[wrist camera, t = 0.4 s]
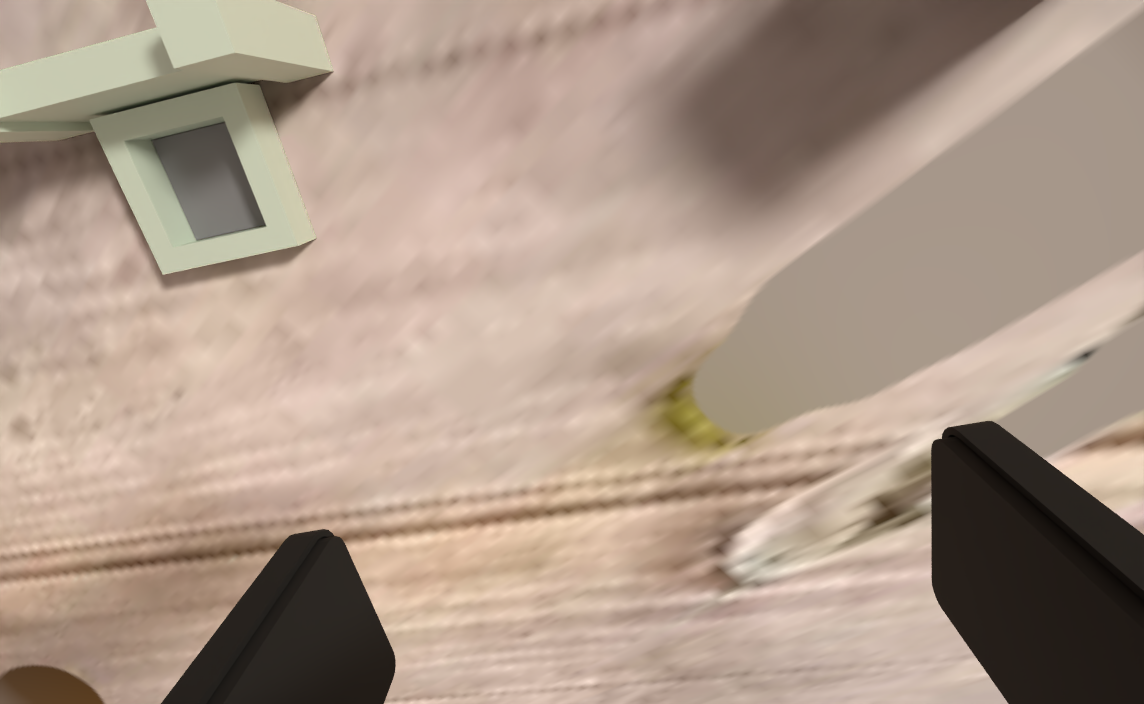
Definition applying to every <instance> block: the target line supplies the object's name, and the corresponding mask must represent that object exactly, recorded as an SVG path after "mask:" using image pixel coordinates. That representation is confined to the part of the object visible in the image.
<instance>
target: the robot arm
mask: <svg viewBox="0 0 1144 704" xmlns="http://www.w3.org/2000/svg"><path fill="white" fill-rule="evenodd" d="M931 480H932V586H933V590H934V593H935V596H936V598H937V601H938V603H939V605H940V606H941V608H942V610H943V611H944V612H945V614H946V615H947V617H948V618H949V619H950V621H951V622H952V624H953V625H954V627H955V628H956V629H957V631H958V632H959V634H960V635H961V637H962V638H963V639H964V641H965V642H966V644H967V645H968V647H969V648H970V649H971V651H972V652H973V654H974V655H975V656H976V658H977V659H978V661H979V662H980V664H981V665H982V666H983V668H984V669H985V671H986V672H987V674H988V675H989V676H990V678H991V679H992V681H993V682H994V684H995V685H996V686H997V688H998V689H999V691H1000V692H1001V694H1002V695H1003V696H1004V698H1005V699H1006V701H1007V702H1008V703H1009V704H1144V535H1143V534H1142V533H1141V532H1139V531H1138V530H1137V529H1136V528H1134V527H1133V526H1132V525H1130V524H1129V523H1128V522H1126V521H1125V520H1124V519H1122V518H1121V517H1120V516H1118V515H1117V514H1116V513H1114V512H1113V511H1112V510H1110V509H1109V508H1108V507H1106V506H1105V505H1104V504H1103V503H1101V502H1100V501H1099V500H1097V499H1096V498H1095V497H1093V496H1092V495H1091V494H1089V493H1088V492H1087V491H1085V490H1084V489H1083V488H1081V487H1080V486H1079V485H1077V484H1076V483H1075V482H1073V481H1072V480H1071V479H1070V478H1068V477H1067V476H1066V475H1064V474H1063V473H1062V472H1060V471H1059V470H1058V469H1056V468H1055V467H1054V466H1052V465H1051V464H1050V463H1048V462H1047V461H1046V460H1044V459H1043V458H1042V457H1040V456H1039V455H1038V454H1037V453H1035V452H1034V451H1033V450H1031V449H1030V448H1029V447H1027V446H1026V445H1025V444H1023V443H1022V442H1021V441H1019V440H1018V439H1017V438H1015V437H1014V436H1013V435H1011V434H1010V433H1009V432H1007V431H1006V430H1005V429H1003V428H1002V427H1001V426H1000V425H998V424H996V423H994V422H993V421H985V422H979V423H972V424H966V425H960V426H954V427H948V428H947V429H945V430H944V432H943V434H942V439H937V440H935V441H934V442H933V444H932V449H931ZM394 673H395V655H394V652H393V649H392V647H391V645H390V643H389V640H388V638H387V636H386V634H385V632H384V629H383V627H382V625H381V623H380V620H379V618H378V616H377V614H376V612H375V609H374V607H373V605H372V603H371V601H370V598H369V596H368V594H367V592H366V590H365V587H364V585H363V583H362V581H361V578H360V576H359V574H358V572H357V570H356V567H355V565H354V563H353V561H352V559H351V556H350V554H349V552H348V550H347V548H346V545H345V543H344V542H343V540H342V539H341V538H340V537H337V536H334V535H333V533H331V532H330V531H329V530H325V529H322V530H316V531H310V532H304V533H298V534H293V535H291V536H289V537H288V538H287V539H286V540H285V541H284V542H283V544H282V545H281V546H280V548H279V549H278V550H277V552H276V553H275V554H274V556H273V557H272V558H271V559H270V561H269V562H268V563H267V565H266V566H265V567H264V569H263V570H262V571H261V573H260V574H259V575H258V577H257V578H256V579H255V581H254V582H253V583H252V585H251V586H250V587H249V588H248V590H247V591H246V592H245V594H244V595H243V596H242V598H241V599H240V600H239V602H238V603H237V604H236V606H235V607H234V608H233V610H232V611H231V612H230V613H229V615H228V616H227V617H226V619H225V620H224V621H223V623H222V624H221V625H220V627H219V628H218V629H217V631H216V632H215V633H214V635H213V636H212V637H211V639H210V640H209V641H208V642H207V644H206V645H205V646H204V648H203V649H202V650H201V652H200V653H199V654H198V656H197V657H196V658H195V660H194V661H193V662H192V664H191V665H190V666H189V668H188V669H187V670H186V671H185V673H184V674H183V675H182V677H181V678H180V679H179V681H178V682H177V683H176V685H175V686H174V687H173V689H172V690H171V691H170V693H169V694H168V695H167V696H166V698H165V699H164V700H163V702H162V703H161V704H384V701H385V699H386V696H387V693H388V691H389V688H390V685H391V683H392V680H393V677H394Z"/></svg>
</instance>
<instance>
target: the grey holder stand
mask: <svg viewBox="0 0 1144 704" xmlns="http://www.w3.org/2000/svg"><path fill="white" fill-rule="evenodd" d="M146 2H147V4H148V7H149V9H150V12H151V14H152V16H153V19H154V21H155V24H156V26H157V27H156V28H152V29H149V30H145V31H141V32H138V33H134V34H130V35H127V36H123V37H119V38H116V39H112V40H108V41H105V42H101V43H97V44H94V45H90V46H86V47H83V48H79V49H75V50H72V51H68V52H64V53H61V54H57V55H53V56H50V57H46V58H42V59H39V60H35V61H31V62H28V63H24V64H20V65H17V66H13V67H9V68H6V69H2V70H0V143H5V142H35V141H59V140H63V139H67V138H71V137H75V136H79V135H83V134H87V133H91V132H95V134H96V136H97V138H98V140H99V142H100V144H101V146H102V148H103V150H104V152H105V155H106V157H107V159H108V161H109V163H110V165H111V167H112V169H113V171H114V173H115V176H116V178H117V180H118V182H119V184H120V186H121V188H122V190H123V192H124V194H125V196H126V199H127V201H128V203H129V205H130V207H131V209H132V211H133V213H134V215H135V217H136V220H137V222H138V224H139V226H140V228H141V230H142V232H143V234H144V236H145V238H146V241H147V243H148V245H149V247H150V249H151V251H152V253H153V255H154V257H155V259H156V261H157V264H158V266H159V268H160V270H161V272H162V274H163V275H164V274H169V273H174V272H178V271H183V270H188V269H192V268H197V267H202V266H206V265H211V264H216V263H220V262H225V261H230V260H234V259H239V258H244V257H248V256H253V255H258V254H262V253H267V252H272V251H276V250H281V249H286V248H290V247H295V246H299V245H301V244H304V243H306V242H309V241H311V240H314V239H316V236H315V233H314V231H313V228H312V225H311V222H310V220H309V217H308V214H307V212H306V209H305V206H304V204H303V201H302V198H301V195H300V193H299V190H298V187H297V185H296V182H295V179H294V177H293V174H292V171H291V168H290V166H289V163H288V160H287V158H286V155H285V152H284V150H283V147H282V144H281V141H280V139H279V136H278V133H277V131H276V128H275V125H274V123H273V120H272V117H271V114H270V112H269V109H268V106H267V104H266V101H265V98H264V96H263V93H262V90H261V87H260V85H254V84H247V83H251V82H255V81H259V80H268V81H276V82H284V83H289V82H293V81H297V80H301V79H305V78H309V77H313V76H317V75H321V74H325V73H329V72H333V68H332V65H331V62H330V59H329V56H328V53H327V50H326V47H325V44H324V41H323V38H322V35H321V32H320V28H319V25H318V22H317V19H316V16H315V15H313V14H310V13H307V12H305V11H302V10H299V9H297V8H294V7H291V6H289V5H286V4H283V3H281V2H278V1H275V0H146ZM224 122H225V123H224ZM220 123H221V124H220ZM216 124H217V125H216ZM199 128H200V129H199ZM195 129H196V130H195ZM191 130H192V131H191ZM187 131H188V132H187ZM183 132H184V133H183ZM179 133H180V134H179ZM175 134H176V135H175ZM171 135H172V136H171ZM167 136H168V137H167ZM163 137H164V138H163ZM159 138H160V139H159ZM155 139H156V140H155ZM262 225H265V226H262ZM258 226H261V227H258ZM253 227H256V228H253ZM249 228H252V229H249ZM244 229H247V230H244ZM240 230H242V231H240ZM235 231H238V232H235ZM231 232H233V233H231ZM226 233H229V234H226ZM222 234H224V235H222ZM217 235H220V236H217ZM213 236H215V237H213ZM208 237H211V238H208ZM203 238H206V239H203ZM199 239H202V240H199Z"/></svg>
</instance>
